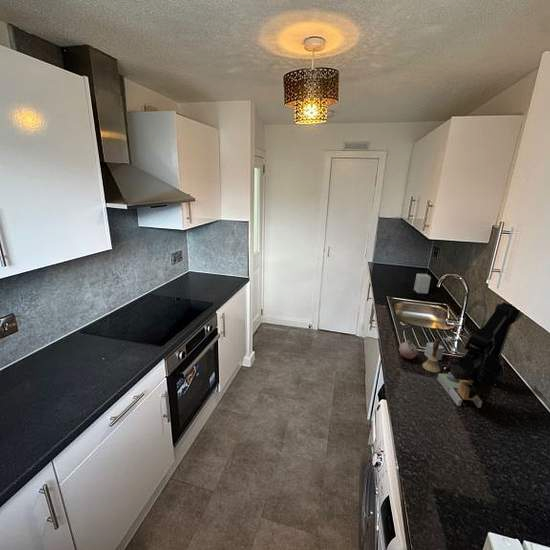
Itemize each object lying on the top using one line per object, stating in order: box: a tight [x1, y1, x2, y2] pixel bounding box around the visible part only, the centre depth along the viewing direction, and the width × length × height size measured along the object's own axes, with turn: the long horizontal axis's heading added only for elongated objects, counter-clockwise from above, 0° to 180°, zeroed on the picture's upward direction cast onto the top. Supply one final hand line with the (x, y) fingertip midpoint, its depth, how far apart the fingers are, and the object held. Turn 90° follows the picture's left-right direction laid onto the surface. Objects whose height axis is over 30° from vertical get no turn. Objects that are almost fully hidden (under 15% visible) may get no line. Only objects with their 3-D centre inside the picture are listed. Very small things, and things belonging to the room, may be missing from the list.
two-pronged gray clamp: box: [436, 371, 483, 409], centre depth 133 cm, size 18×10×5 cm, turn 177°
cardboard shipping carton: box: [457, 380, 478, 401], centre depth 127 cm, size 5×5×6 cm
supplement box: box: [413, 273, 432, 295], centre depth 256 cm, size 9×9×15 cm
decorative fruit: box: [398, 339, 418, 360], centre depth 157 cm, size 9×8×10 cm
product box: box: [423, 342, 445, 361], centre depth 159 cm, size 6×6×7 cm
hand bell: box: [421, 338, 441, 373], centre depth 149 cm, size 8×8×16 cm
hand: (466, 393), depth 128 cm, fingers closed on cardboard shipping carton, 5 cm apart
